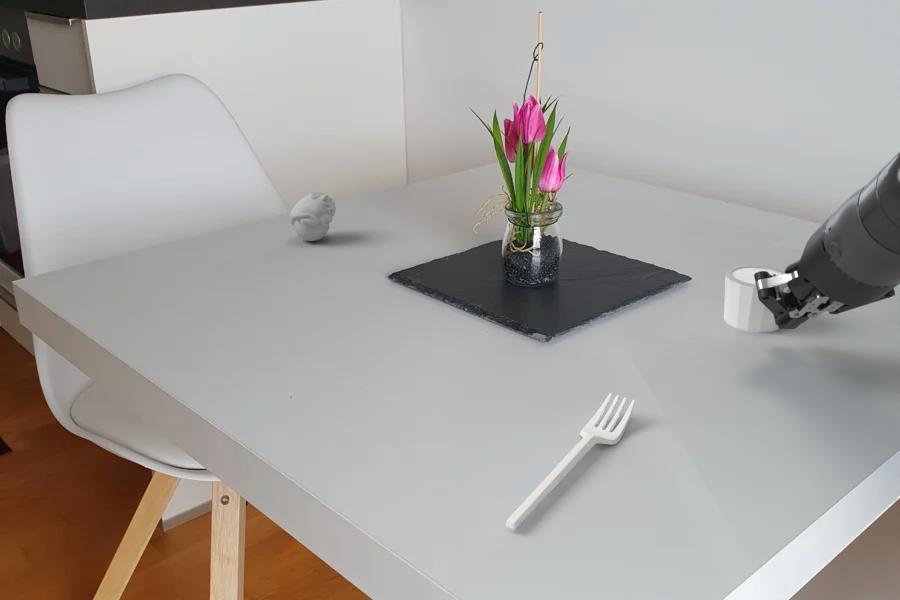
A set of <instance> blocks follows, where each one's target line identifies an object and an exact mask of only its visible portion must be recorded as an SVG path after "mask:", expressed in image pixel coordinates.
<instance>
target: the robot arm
mask: <svg viewBox="0 0 900 600" xmlns="http://www.w3.org/2000/svg"><path fill="white" fill-rule="evenodd" d="M784 273H785V274H781V275H778V276H776V274H771V275H770V274H769V273H768V272H767V271H760V272H757V273H755V274H754V278H755V283H756V288H757V293H758V298H759V301H760V302H761V303H762V304H763V305H765V306H766V307H767V308H768V309H769V310H770V311H771V312H772V313H773V314H774V319H775V324H776V325H778V328H779V329H778V330H795V329H797V328H798V327H799V326H800V325H803V324H804V323H805V322H807V321H808V320H809V319H810V318H817V317H819V316H821V315H823V314H824V313H825V312H828V313H829V315H838V314H841V313H844V312H848V311H851V310H854V309H858V308H861V307H863V306H867V305H870V304H873V303H876V302H880V301H882V300H886V299H890V298H892V297H894V296H895V295H896V292H895V288H896V287H897V286H898V285H900V151H898V152H897V154H896V155H894V156H893V157H892V158H891V159H890V160H889V161H888V162H887V163H886V164H885V165H884V166H883V167H882V168H881V169H880V170H879V171H878V172H877V173H876V174H875V175H874V176H873V177H872V178H871V179H870V180H869V181H868V182H867V183H866V184H865V185H863V186H862V187H861V188H859V189H858V190H856V191H855V192H854V193H853V194H851V195H850V196H849V197H848V198H847V199H845V201H844V202H843V203H842V204H841V205H840V206H839V207H838V208H837V209H836V210H835V211H834V212H833V213H832V214H831V215H830V216H829V217H828V218H827V219H826V220H825V221H824V222H823V223H822V224H821V225H820V226H819V228H818V229H816V231H814V233H812V235H810V237H809V238H808V240H807V242H806V244H805V246H804V249H803V251H802V254H801V257H800V259H799V260H797V261H795V262H793V263H790V264H789V265H787V267H786V268H785V269H784ZM786 287H788V289H787V291H786V292H783V291H784V288H786Z"/></svg>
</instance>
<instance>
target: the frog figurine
mask: <svg viewBox="0 0 900 600" xmlns="http://www.w3.org/2000/svg"><path fill="white" fill-rule="evenodd" d="M336 207H337V206H336V202H335V200H334V197H333V198H332V197H331V196H330V195H328V194H327V193H326V194H325V193H324V192H322V191H318V190H312V191H309V192H307V194H306V195H305V196H304V197H303V198H300V200H298V202H296V204H295V205H294V207H293V208H292V209H291V210H290V214H289V220H290V224H291V226H293V227H294V231H295V232H296V234H297V236H299V237H300V238H301V239H302V240H305V241H308V242H316V241H319V240H321V239H323V238H325V236H326V235H327V233H328V231H329V230H330V227H331V226H330V223H331V222H333V217H335V214H336Z"/></svg>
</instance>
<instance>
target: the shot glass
mask: <svg viewBox="0 0 900 600" xmlns="http://www.w3.org/2000/svg"><path fill="white" fill-rule="evenodd" d="M760 271H767V272H768V273H769V274H770V275H771V274H776V276H778V275H781V274H785V271H784V272H783V271H781V270H778V269H776V268H770V267H766V266H760V265H759V266H757V265H738V266H735V267H734V266H733V267H731V268H728V269H727V270H725V279H724V281H725V282H724V304H723V307H724V308H723V321H724V322H725V323H726V324H727V325H729V326H731V327H733V328H735V329H737V330H741V331H745V332H751V333H760V334H761V333H772V332H776V331H779V330H780V329H779V328H778V325H776V324H775V319H774V314H773V313H772V312H771V311H770V310H769V309H768V308H767V307H766V306H765V305H763V304H762V303H761V302H760V301H759V298H758V293H757V288H756V283H755V278H754V274H755V273H757V272H760ZM787 289H788V287H786V288H784V291H783V292H786V291H787Z"/></svg>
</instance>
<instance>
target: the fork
mask: <svg viewBox="0 0 900 600" xmlns="http://www.w3.org/2000/svg"><path fill="white" fill-rule="evenodd" d="M612 396H613V393H612V392H609V394H608V395H607V397H606V398H605V399H604V401H603V402H602V404H601V405H600V407H599V408H598V410H597V411H596V412H595V413H594V415H593V416H592V417H591V419H590V420H589V421H588V422H587V423H586V425H584V427H583V428H582V429H581V430H580V432H579V436H580V437H582V438H581V439H580V440H579V441H578V442H577V443H576V444H575V446H574V447H573V448H572V449H571V450H570V451H569V452H568V453H567V454H566V456H565V457H564V458H562V460H561V461H560V462H559V463H558V464H557V465H555V467H554V468H553V469H552V471H551V472H550V473H549V474H548V475H547V476H546V477H545V478H544V479H543V480H542V481H541V483H540V484H538V486H537V487H536V488H534V490H533V491H532V493H530V494H529V495H528V497H526V499H524V501H523V502H522V503H521V504H520V505H519V507H518V508H517V509H516V510H515V511H514V512H513V513H512V514H511V515H510V516H509V517H508V518H507V519H506V522H505V527H506V528H508V529H511V530H516V528H517V527H518V526H519V525H520V524H521V523H523V520H525V519H526V518H527V517H528V516H529V515H530V514H531V512H532V511H534V509H535V508H536V507H538V505H539V504H540V503H541V502H542V500H544V499H545V498H546V496H548V495H549V494H550V492H552V490H553V489H554V488H555V487H556V486H557V485H558V484H559V483H560V482H561V481H562V480H563V479H564V478H565V477H566V475H568V473H570V471H572V469H573V468H574V467H575V466H576V465H577V464H578V463H579V462H580V461H581V460H582V458H584V457H585V456H586V454H587V453H588V452H590V450H591V449H592V448H593V447H594V446H595V445H596V444H602V445H603V444H604V445H616V444H617V443H619V442H620V440H621V439H622V437H623V435H624V433H625V431H626V429H627V426H628V425H629V421H630V419H631V416H632V412H633V410H634V406H635V401H636V400H635V399H632V400H631V402H630V404H629V406H628V408H627V410H626V412H625V413H624V415H623V417H622V418H621V420H620V421H619V418H620V415H621V414H622V412H623V409H624V407H625V404H626V401H627V397H626V396H625V397H623V399H622V401H621V403H620V405H619V406H618V407H617V410H616V411H615V413H614V410H615V408H616V405H617V403H618V401H619V399H620V395H619V394H616V395H615V398H614V399H613V401H612V403H611V405H610V407H609V409H608V410H607V412H606V414H605V415H604V413H605V411H606V409H607V407H608V405H609V402H610V401H611V398H612ZM613 413H614V415H613V417H612V414H613ZM603 415H604V417H603ZM602 417H603V418H602ZM611 417H612V418H611ZM610 418H611V420H610ZM601 419H602V420H601ZM609 421H610V422H609ZM618 421H619V423H618V424H617V422H618ZM616 424H617V426H616ZM615 426H616V427H615Z"/></svg>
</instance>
